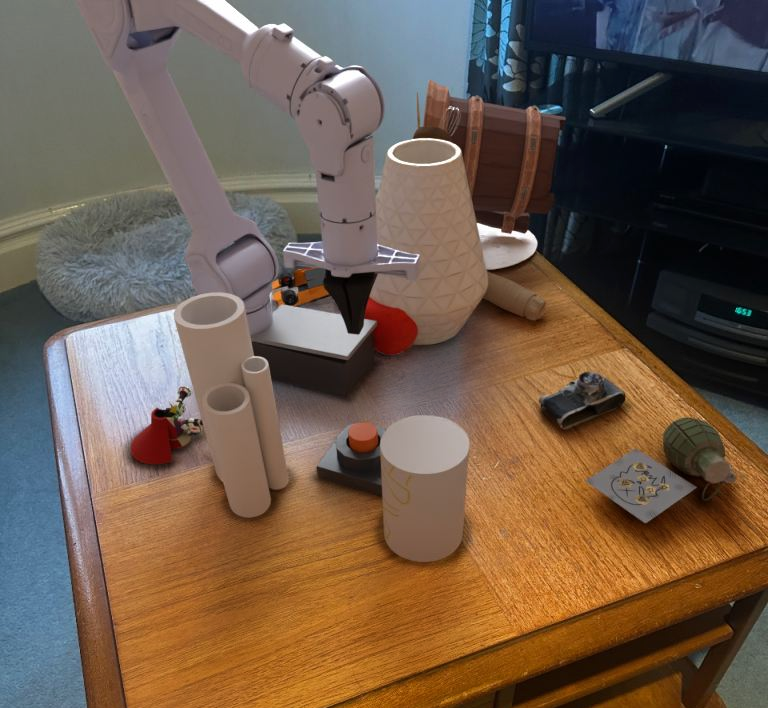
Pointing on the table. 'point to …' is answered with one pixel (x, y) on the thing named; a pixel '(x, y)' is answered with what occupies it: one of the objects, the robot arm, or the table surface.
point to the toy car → (300, 287)
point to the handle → (514, 297)
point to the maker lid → (313, 332)
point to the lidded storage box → (318, 367)
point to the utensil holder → (432, 129)
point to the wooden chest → (500, 155)
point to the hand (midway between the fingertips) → (355, 329)
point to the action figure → (165, 432)
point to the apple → (391, 328)
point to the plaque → (505, 246)
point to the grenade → (697, 451)
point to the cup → (424, 486)
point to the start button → (363, 437)
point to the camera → (582, 400)
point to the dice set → (640, 485)
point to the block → (353, 464)
